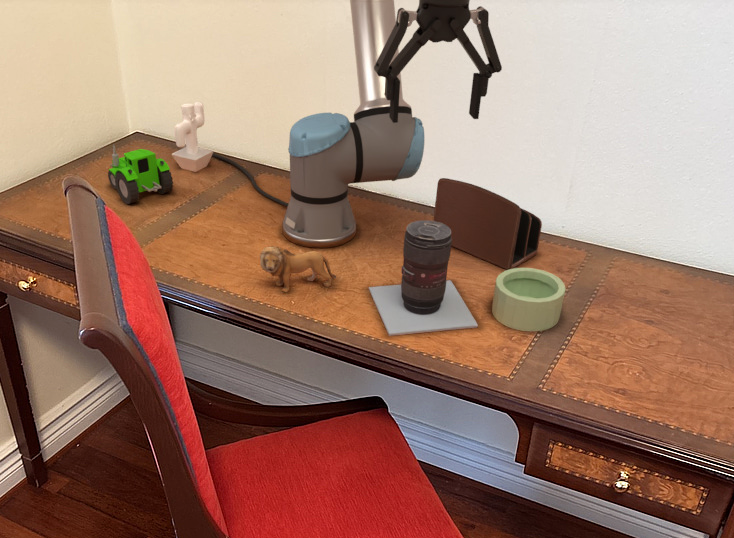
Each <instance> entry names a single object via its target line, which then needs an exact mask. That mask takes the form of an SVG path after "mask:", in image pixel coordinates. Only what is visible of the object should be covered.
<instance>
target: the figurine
mask: <svg viewBox="0 0 734 538" xmlns="http://www.w3.org/2000/svg"><path fill="white" fill-rule="evenodd" d="M204 108H205V107H204V104H203V103H202V102H200V101H195V102H194V103H189V102H188V103H183V104H180V109H181V113H182V114H181V115H182V121H180V122H178V123H176V124H175V126H174V138H175V139H174V140H175V145H176V147H178V148H179V150H176V151H174V152H172V153H171V154H170V155H171V156H172V158H173V159H174V160H175V162H176V163H177V164H178V165H177V166H179V167H180V169H183V170H186V171H190V172H193V173H197V172H199V171H200V170H203V169H204V168H206V167H208V165H209V163H210V161H211V158H212V157H213V156H212V154H213V153H215V150H213V149H209V148H206V147H205V148H204V147H200V146H199V143H198V134H197V133H198V132H197V130H198V129H199V128H202V127H203V126H204V124H205V112H204V111H205V109H204Z"/></svg>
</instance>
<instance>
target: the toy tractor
mask: <svg viewBox="0 0 734 538" xmlns="http://www.w3.org/2000/svg"><path fill="white" fill-rule="evenodd" d="M112 152H113V153H112V154H111V159H112V160H111V164H110V168H108V172H107V177H108V181H109V183H110V186H111V187H112V188H113V189H114V190H116V192H117V194H118V195H119V198H120V199H121V201H122V202H123V203H124V204H125V205H131V204H135V203H137V202H138V201H139V200H140V193H143V192H146V191H147V192H149V193H151V192H152V191H153V192H155V193H158V194H159V195H163V194H167V193H170V192H172V191H173V188H174V181H173V179H174V178H173V176H172V172H171V168H170V167H169V164H168V163H167V161H166V160H165V159H163V158H161V157H158V158H157V156H156V155H157V154H156V153H155V152H153V151H151V150H149V149H144V148H140V149H135V150H132V151H127V152H124V153H123V156H122V157H120V156H119V153H117V151H116V146H115V143H113V144H112Z"/></svg>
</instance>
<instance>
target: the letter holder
mask: <svg viewBox="0 0 734 538" xmlns="http://www.w3.org/2000/svg"><path fill="white" fill-rule="evenodd" d="M432 221H436V222H440V223H442V224H445V225H447V226H448V227H449V228H450V229H451V237H452V243H451V248H455V249H457V250H460V251H462V252H465V253H467V254H468V255H471V256H473V257H475V258H478V259H480V260H483V261H485V262H487V263H489V264H492V265H494V266H496V267H499V268H501V269H504V270H505V271H506V270H509V269H513V268H517V267H518V266H520V265H522V264H523V263H525V262H526V261H528V260H530V259H531V258H533V257H535V256H536V255H537V254H538V250H539V244H540V239H541V232H542V227H543V222H542V220H541V218H539V217H538V216H537V215H535V214H534V213H532V212H530V211H528V210H526V209H524V208H521V207H520V206H519V205H518V204H517V203H515V202H513V201H512V200H509V198H506V197H504V196H502V195H500V194H498V193H495V192H494V191H491V190H489V189H487V188H483V187H481V186H479V185H475V184H473V183H469V182H466V181H462V180H458V179H451V178H448V177H442V178H441V177H440V178H439V179H438V181H437V186H436V196H435V204H434V211H433V220H432Z"/></svg>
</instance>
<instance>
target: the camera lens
mask: <svg viewBox="0 0 734 538" xmlns="http://www.w3.org/2000/svg"><path fill="white" fill-rule="evenodd" d="M403 236H404V237H403V238H404V239H403V249H402V250H403V251H402V252H403V254H402V256H403V260H402V261H403V262H402V266H401V271H400V272H401V283H400V284H401V291H402V299H403V301H404V303H403V304H404V307H405V309H406V310H408V311H409V312H411V313H414V314H420V315H426V314H432V313H435V312H436V311H438V310H439V308H440V306H441V302H442V301H443V299H444V294H445V289H446V281H447V278H448V277H447V276H448V267H449V261H450V258H451V250H452V246H451V243H452V237H451V229H450V228H449V227H448V226H447V225H445V224H442V223H440V222H436V221H433V220H431V219H430V220H429V219H426V220H425V219H423V220H421V219H420V220H415V221H412V222H410V223H409V224H408V225H407V226H406V230H405V231H404V235H403Z"/></svg>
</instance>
